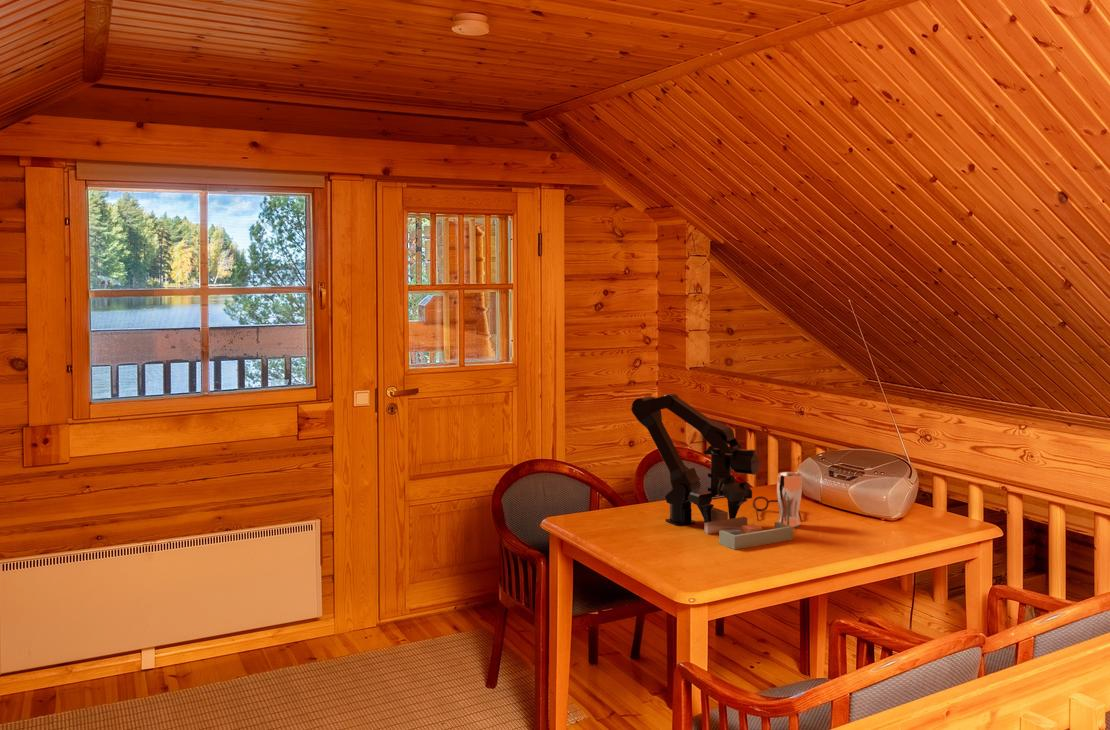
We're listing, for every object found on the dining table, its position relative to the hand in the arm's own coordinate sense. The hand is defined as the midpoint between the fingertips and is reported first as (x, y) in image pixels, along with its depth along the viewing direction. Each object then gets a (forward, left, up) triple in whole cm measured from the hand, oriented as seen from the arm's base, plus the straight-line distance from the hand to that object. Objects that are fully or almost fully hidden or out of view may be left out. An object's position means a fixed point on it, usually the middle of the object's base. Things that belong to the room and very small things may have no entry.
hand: (720, 524), depth 282 cm
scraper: (-1, 0, -1) cm, 2 cm away
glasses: (-3, +24, -2) cm, 24 cm away
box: (+16, 0, -1) cm, 16 cm away
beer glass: (+7, +19, -1) cm, 20 cm away
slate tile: (+10, -3, -1) cm, 10 cm away
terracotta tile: (+10, +4, -1) cm, 10 cm away
